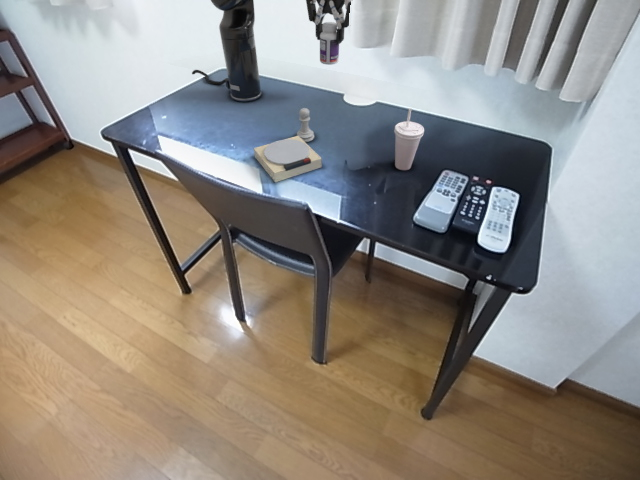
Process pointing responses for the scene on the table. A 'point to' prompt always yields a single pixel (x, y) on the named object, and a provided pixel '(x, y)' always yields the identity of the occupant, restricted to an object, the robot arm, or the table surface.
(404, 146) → the smoothie
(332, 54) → the pill bottle
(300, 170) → the scale
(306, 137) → the chess piece
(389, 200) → the table surface
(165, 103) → the table surface
